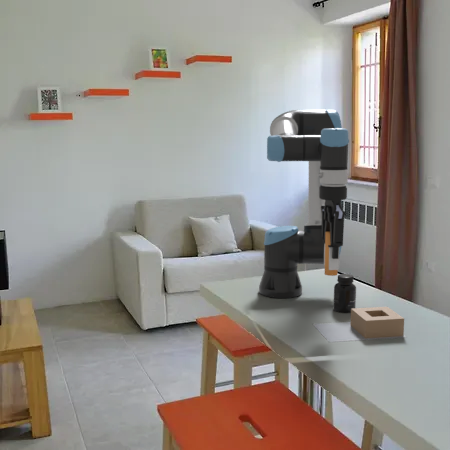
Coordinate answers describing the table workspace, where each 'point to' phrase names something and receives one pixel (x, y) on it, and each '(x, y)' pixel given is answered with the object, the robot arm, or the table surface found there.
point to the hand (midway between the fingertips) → (331, 267)
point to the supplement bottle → (344, 294)
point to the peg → (327, 242)
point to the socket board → (342, 332)
